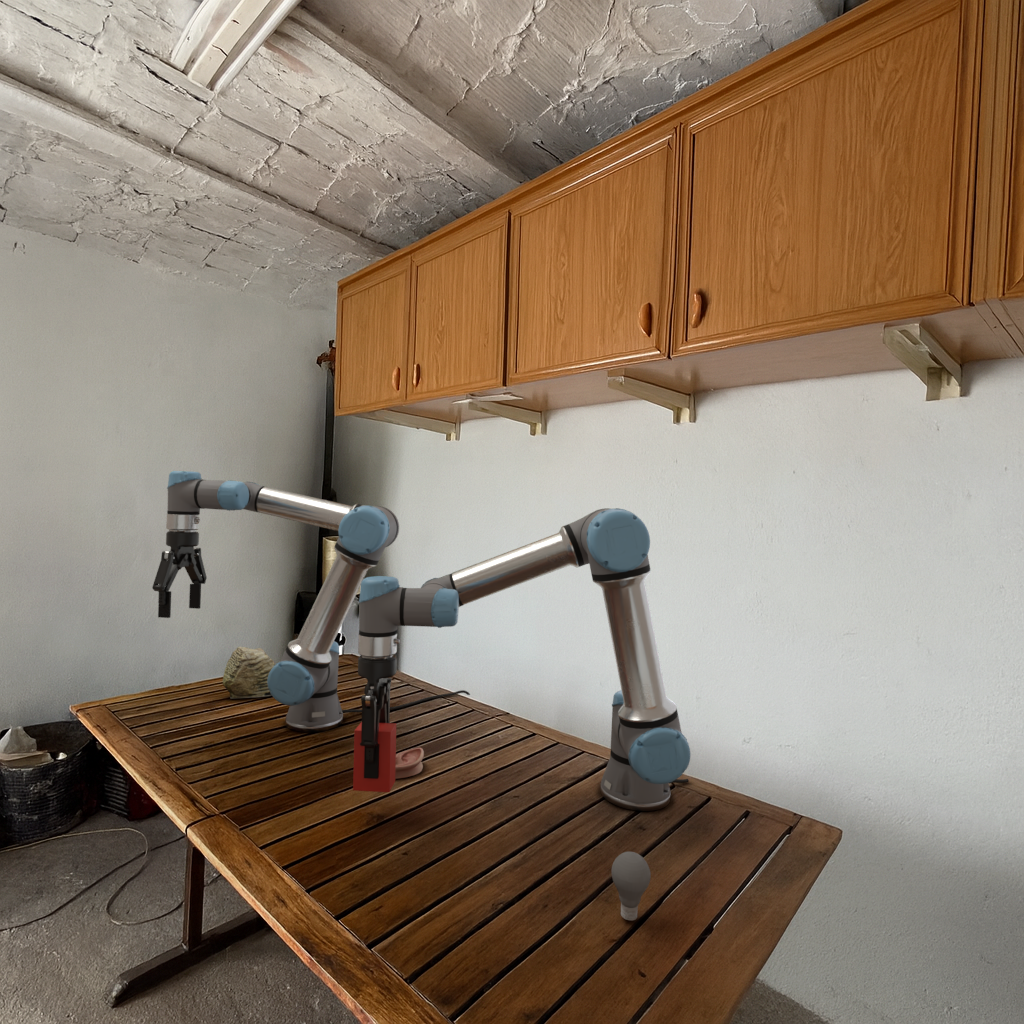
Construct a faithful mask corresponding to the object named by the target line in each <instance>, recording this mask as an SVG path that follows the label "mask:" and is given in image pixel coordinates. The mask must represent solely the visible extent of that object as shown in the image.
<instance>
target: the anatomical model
mask: <svg viewBox="0 0 1024 1024" xmlns="http://www.w3.org/2000/svg"><path fill="white" fill-rule="evenodd" d="M424 755H425V751H424V749H423V748H422V747H414V748H410V749H407V750H404V751H401V752H398V753H396V766H395V780H396V779H404V778H408V777H412V776H415V775H418V774H420V773H421V772H422V771H423V768H424V765H423V762H422V761H423V759H424Z"/></svg>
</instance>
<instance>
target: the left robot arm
mask: <svg viewBox="0 0 1024 1024" xmlns="http://www.w3.org/2000/svg"><path fill="white" fill-rule="evenodd" d="M166 489H167V511H166V525H165V526H166V528H165V529H167V530H168V531H167V532H166V533H165V534H166V535H165V545H166V546H167V547H170V549H169V551H168V550H162V551H161V556H160V557H161V558H160V562H159V565H158V568H157V572H156V573H155V578H154V580H153V583H152V590H153V591H154V592H158V607H157V609H158V610H157V613H158V614H157V618H163V619H169V618H171V615H172V614H171V612H172V609H171V608H172V590H170V589H171V587H172V585H173V583H174V581H175V579H176V577H177V574H178V573H179V571H180V570H181V569H182V568H184V570H185V571H186V573H187V575H188V577H189V579H190V581H191V583H190V584H189V597H188V598H189V600H188V608H189V609H197V610H199V609H201V602H202V601H201V599H202V585H206V581H207V573H206V570H205V565H204V562H203V558H202V548H201V547H197V546H199V544H200V533H199V531H198V530H199V529H200V522H201V518H200V512H201V510H202V509H203V510H219V511H220V510H221V511H229V512H230V511H242V510H245V511H249V512H254V513H258V514H259V513H260V514H264V515H269V516H272V517H277V518H281V519H285V520H289V521H293V522H298V523H302V524H306V525H311V526H315V527H319V528H323V529H327V530H332V531H336V532H338V538H337V540H336V542H335V544H334V545H333V549H334V551H335V554H336V556H335V558H334V561H333V563H332V565H331V567H330V569H329V571H328V574H327V575H326V577H325V580H324V582H323V584H322V586H321V588H320V590H319V593H318V594H317V596H316V599H315V601H314V603H313V605H312V607H311V609H310V611H309V613H308V616H307V618H306V620H305V622H304V623H303V625H302V628H301V630H300V632H299V634H298V636H297V638H295V639H293V640H290V641H289V642H288V644H287V646H286V648H285V650H284V651H283V654H282V656H281V658H280V660H279V662H276V663H275V666H274V667H273V668H272V669H271V671H270V673H269V675H268V680H267V684H268V688H269V690H270V693H271V695H272V698H273V699H274V700H275V701H277V702H278V703H280V704H282V705H285V706H289V708H288V711H287V713H286V715H285V726H286V728H287V729H289V730H291V731H294V732H295V731H296V732H301V733H316V732H325V731H329V730H332V729H335V728H337V727H339V726H340V725H342V723H343V722H344V714H345V713H347V714H348V713H362V709H342V706H341V702H340V699H339V695H338V682H339V681H338V680H339V678H338V677H339V662H340V661H339V660H340V659H339V657H340V645H339V643H338V642H337V641H335V640H336V638H337V636H338V633H339V632H340V629H341V627H342V625H343V624H344V621H345V619H346V617H347V615H348V613H349V610H350V608H351V607H352V604H353V602H354V600H355V598H356V596H357V593H358V592H359V591H360V590H359V589H360V588H361V582H362V580H363V579H365V578H366V575H367V573H368V571H369V570H370V569H372V568H375V567H377V565H378V564H379V561H380V559H381V557H382V555H383V553H384V551H385V549H387V548H388V547H389V546H391V545H393V543H394V542H395V541H396V540H397V538H398V535H399V533H400V523H399V519H398V517H397V515H396V514H395V513H394V511H392V510H391V509H389V508H387V507H385V506H382V505H381V506H380V505H365V504H361V503H356V504H354V505H349V504H344V503H341V502H336V501H332V500H327V499H322V498H319V497H313V496H309V495H306V494H301V493H296V492H292V491H287V490H284V489H279V488H275V487H270V486H265V485H261V484H259V483H256V482H252V481H239V480H238V481H237V480H231V479H230V480H222V479H221V480H220V479H219V480H218V479H202V474H201V473H200V472H199V471H189V470H188V471H187V470H186V471H185V470H172V471H171V472H169V474H168V482H167V487H166ZM458 694H466V695H467V696H470V695H471V693H470V692H469V691H467V690H463V689H462V690H461V689H460V690H457V691H453V692H450V693H442V694H436V695H431V696H428V697H427V696H426V697H423V698H420V699H417V700H414V701H410V702H407V703H403V704H400V705H396V706H390V711H392V710H393V711H394V710H398V709H402V708H405V707H409V706H413V705H415V704H419V703H422V702H425V701H429V700H433V699H438V698H444V697H453V696H455V695H458Z"/></svg>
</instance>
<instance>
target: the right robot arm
mask: <svg viewBox="0 0 1024 1024" xmlns="http://www.w3.org/2000/svg"><path fill="white" fill-rule="evenodd" d="M650 547H651V537H650V532H649V529H648V527H647V526H646V524H645V523H644V521H643V520H642V519H641V518H640V517H638V515H636V514H635V513H634V512H632V511H630V510H627V509H624V508H619V507H618V508H617V507H616V508H608V507H607V508H600V509H596V510H594V511H592V512H590V513H588V514H586V515H585V516H583V517H581V518H579V519H577V520H575V521H572V522H570V523H567V524H565V525H562V526H561V527H560V529H559V531H558V532H557V533H555V534H551V535H549V536H546V537H544V538H541V539H539V540H536V541H532V542H530V543H528V544H525V545H523V546H520V547H517V548H515V549H512V550H510V551H506V552H504V553H500V554H498V555H496V556H493V557H490V558H488V559H485V560H482V561H480V562H477V563H474V564H471V565H469V566H467V567H464V568H461V569H458V570H455V571H453V572H450V573H449V574H445V575H442V576H440V577H433V578H430V579H428V580H427V581H425V582H424V583H423V584H422V585H421V587H403V586H402V587H401V585H400V583H399V579H398V578H397V577H394V576H385V575H374V576H367V577H364V579H363V580H362V582H361V585H360V588H359V589H360V590H359V599H358V609H359V610H358V612H359V613H358V620H359V621H358V641H357V642H358V644H357V646H358V647H357V653H358V655H359V656H358V659H357V675H358V676H359V677H361V678H363V679H366V681H367V682H366V685H365V686H364V692H363V693H364V694H363V695H362V696H361V698H360V701H361V710H362V712H361V722H362V731H361V743H360V746H365V751H364V778H372V779H378V777H379V744H378V733H379V723H391V722H390V716H391V715H390V712H391V710H390V707H391V685H392V677H395V675H396V674H397V673H398V672H397V671H398V670H397V669H398V657H397V655H396V653H397V652H398V645H399V644H401V640H400V638H397V637H398V627H400V626H401V627H425V628H426V627H427V628H429V627H430V628H439V629H441V628H446V627H447V628H449V627H450V628H451V627H455V626H456V625H457V624H458V623H459V622H458V621H459V608H460V607H463V606H464V605H467V604H470V603H473V602H476V601H479V600H481V599H483V598H487V597H488V596H492V595H494V594H497V593H499V592H502V591H505V590H508V589H510V588H513V587H516V586H519V585H522V584H524V583H527V582H529V581H532V580H535V579H537V578H540V577H542V576H545V575H548V574H551V573H553V572H556V571H559V570H562V569H565V568H567V567H570V566H572V567H575V568H580V567H583V566H585V565H589V569H590V574H591V579H592V582H593V583H594V584H596V585H597V586H598V587H600V588H601V590H602V596H603V601H604V606H605V612H606V616H607V621H608V628H609V631H610V632H609V633H610V639H611V643H612V649H613V653H614V658H615V663H616V669H617V674H618V680H619V685H620V690H617V691H616V692H615V693H614V694H613V697H612V703H611V707H612V709H611V730H610V731H611V735H610V754H609V760H608V762H607V764H606V767H605V770H604V771H603V775H602V778H601V781H600V790H599V792H600V794H601V796H602V797H603V798H604V800H606V801H608V802H609V803H610V804H612V805H615V806H616V807H617V806H618V807H620V808H623V809H626V810H631V811H637V812H649V811H650V812H651V811H657V810H661V809H663V808H666V807H667V806H668V805H669V804H670V802H671V788H670V784H687V783H689V782H690V780H689V779H688V778H684V779H680V778H681V777H682V776H683V774H684V773H685V771H686V770H687V769H688V767H689V765H690V763H691V747H690V744H689V742H688V739H687V738H686V736H685V735H684V734H683V732H682V728H681V723H680V718H679V713H678V712H679V711H678V706H677V704H676V703H675V701H673V700H672V699H670V698H669V697H668V696H667V691H666V685H665V681H664V676H663V669H662V665H661V659H660V655H659V649H658V644H657V639H656V633H655V627H654V623H653V617H652V612H651V608H650V607H651V606H650V602H649V595H648V591H647V585H646V580H647V578H648V576H649V575H650V574H651V571H652V570H651V565H650V559H649V551H650Z"/></svg>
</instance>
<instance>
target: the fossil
mask: <svg viewBox="0 0 1024 1024" xmlns="http://www.w3.org/2000/svg"><path fill="white" fill-rule="evenodd" d="M275 665H276V663H275V662H274V660H273V659H272V658H271V657H270V656H269V655H268V654H267V653H266V652H265V650H264V649H263V648H260V647H258V648H251V647H247V646H246V647H245V646H238V647H237V648H236V649H235V650H233V651H232V653H231V656H230V657H229V659H228V660H227V663H226V666H225V668H224V671H223V675H222V676H223V677H222V685H223V687H224V688H225V690H226V691H228V693H229V698H230V699H250V698H264V697H271V696H272V695H271V693H270V690H269V688H268V684H267V680H268V675H269V673H270V671H271V669H272V668H273V667H274V666H275ZM272 697H273V696H272Z"/></svg>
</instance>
